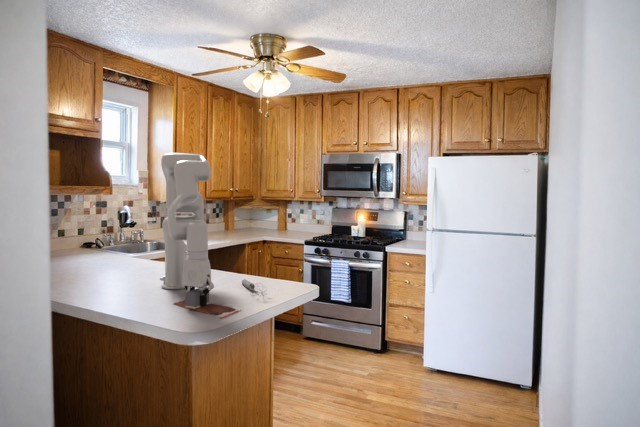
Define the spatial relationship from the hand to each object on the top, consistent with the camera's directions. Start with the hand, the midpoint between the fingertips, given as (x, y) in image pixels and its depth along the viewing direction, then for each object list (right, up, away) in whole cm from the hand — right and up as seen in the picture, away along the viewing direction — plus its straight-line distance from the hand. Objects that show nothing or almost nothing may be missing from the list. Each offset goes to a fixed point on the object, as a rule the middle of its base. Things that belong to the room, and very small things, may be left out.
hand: (197, 303), depth 164 cm
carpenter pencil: (+14, -2, -9) cm, 16 cm away
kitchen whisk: (+16, -1, +26) cm, 31 cm away
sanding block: (0, 0, 0) cm, 0 cm away
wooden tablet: (+1, -2, +2) cm, 3 cm away
